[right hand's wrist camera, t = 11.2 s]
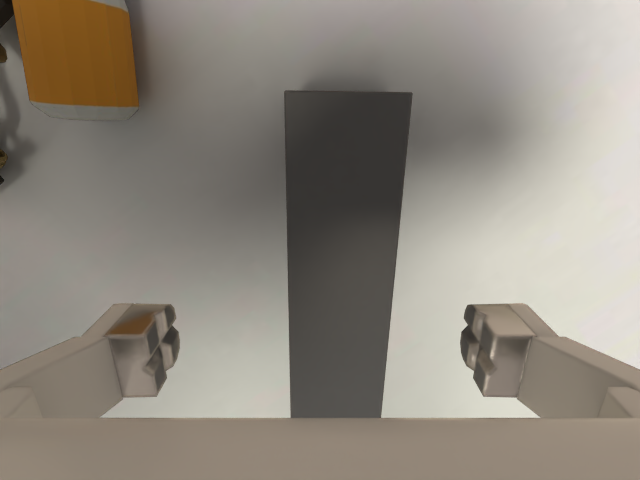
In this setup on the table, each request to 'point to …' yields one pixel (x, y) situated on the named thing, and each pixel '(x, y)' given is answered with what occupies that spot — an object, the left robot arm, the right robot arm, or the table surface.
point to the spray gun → (75, 58)
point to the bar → (342, 245)
